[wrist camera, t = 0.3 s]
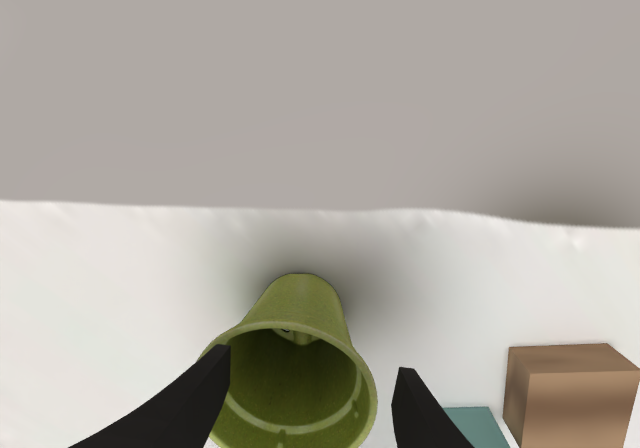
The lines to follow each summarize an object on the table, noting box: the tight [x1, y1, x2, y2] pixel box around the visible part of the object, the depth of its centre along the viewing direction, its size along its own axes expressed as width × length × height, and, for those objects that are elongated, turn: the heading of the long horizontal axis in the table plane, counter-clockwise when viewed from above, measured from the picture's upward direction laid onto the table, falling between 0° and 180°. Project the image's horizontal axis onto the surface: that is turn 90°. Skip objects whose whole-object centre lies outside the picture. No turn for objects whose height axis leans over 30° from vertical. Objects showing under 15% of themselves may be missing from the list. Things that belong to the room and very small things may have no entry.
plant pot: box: [197, 274, 378, 448], centre depth 19 cm, size 9×9×9 cm
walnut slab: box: [503, 343, 640, 448], centre depth 22 cm, size 7×7×3 cm
